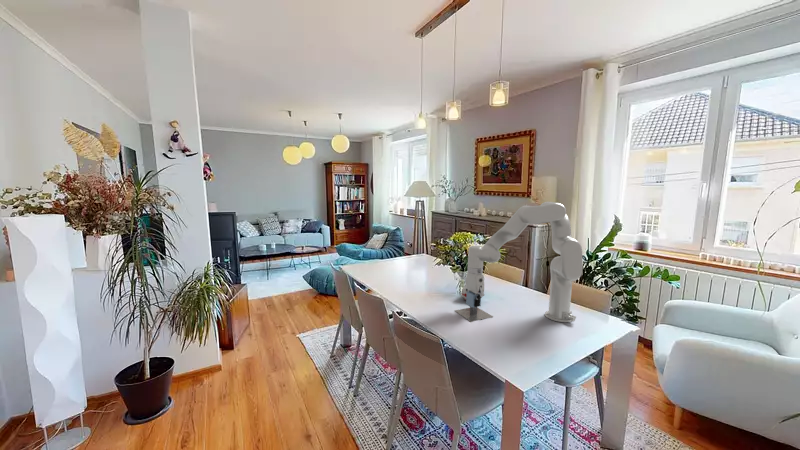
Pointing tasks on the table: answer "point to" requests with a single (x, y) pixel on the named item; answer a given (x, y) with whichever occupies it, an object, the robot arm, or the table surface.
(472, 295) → the blue-grey rectangular block
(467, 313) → the square pedestal stand
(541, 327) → the table surface
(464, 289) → the red white rounded piece
